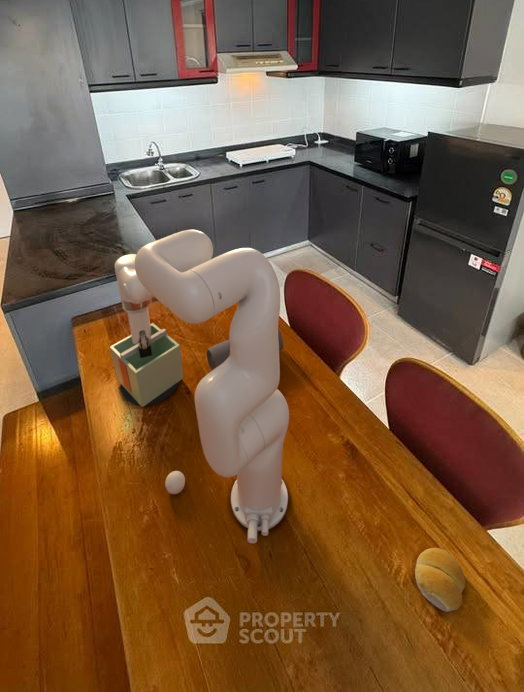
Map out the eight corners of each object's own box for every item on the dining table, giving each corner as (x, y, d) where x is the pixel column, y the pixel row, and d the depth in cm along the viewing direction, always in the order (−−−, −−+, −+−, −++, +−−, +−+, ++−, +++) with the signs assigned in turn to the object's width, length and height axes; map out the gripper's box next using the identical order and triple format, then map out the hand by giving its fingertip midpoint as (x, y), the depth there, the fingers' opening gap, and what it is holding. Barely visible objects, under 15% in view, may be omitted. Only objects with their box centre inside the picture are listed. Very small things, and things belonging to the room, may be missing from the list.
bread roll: (466, 571, 73) (471, 560, 71) (456, 623, 66) (462, 613, 64) (422, 541, 77) (425, 530, 75) (408, 587, 70) (412, 577, 69)
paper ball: (183, 498, 84) (182, 486, 82) (164, 498, 84) (161, 486, 82) (187, 478, 88) (185, 466, 86) (168, 478, 88) (166, 466, 86)
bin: (141, 407, 104) (133, 369, 98) (116, 380, 112) (107, 342, 106) (184, 377, 113) (179, 340, 107) (157, 354, 122) (152, 318, 116)
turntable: (173, 406, 106) (172, 403, 105) (112, 405, 106) (111, 403, 105) (184, 360, 121) (184, 358, 121) (131, 360, 121) (131, 357, 121)
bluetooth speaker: (218, 386, 112) (216, 361, 107) (206, 365, 119) (204, 340, 115) (284, 359, 122) (285, 334, 117) (269, 341, 129) (270, 317, 125)
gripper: (119, 285, 106) (129, 336, 114) (123, 321, 92) (134, 376, 100) (147, 280, 108) (155, 330, 116) (155, 314, 95) (163, 368, 103)
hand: (145, 351), depth 108 cm, fingers closed on bin, 2 cm apart
